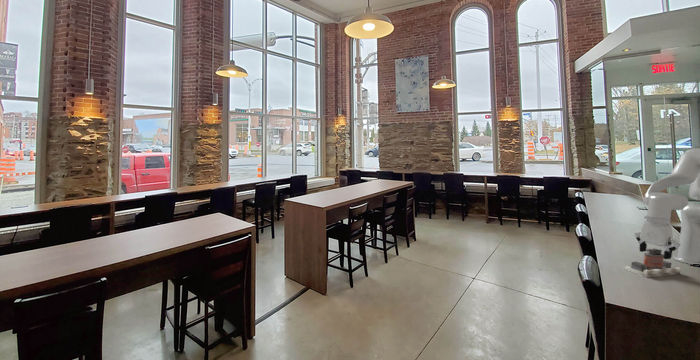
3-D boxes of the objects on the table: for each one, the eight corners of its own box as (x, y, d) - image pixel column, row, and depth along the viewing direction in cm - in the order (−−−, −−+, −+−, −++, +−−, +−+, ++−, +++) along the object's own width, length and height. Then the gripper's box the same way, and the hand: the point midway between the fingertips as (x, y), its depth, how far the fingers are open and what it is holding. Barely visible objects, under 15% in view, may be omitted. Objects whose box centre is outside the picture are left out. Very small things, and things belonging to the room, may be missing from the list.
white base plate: (656, 266, 144) (658, 258, 143) (680, 274, 135) (681, 265, 135) (624, 269, 141) (625, 260, 140) (646, 277, 132) (647, 268, 131)
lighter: (658, 267, 139) (660, 248, 138) (664, 270, 136) (667, 250, 135) (640, 266, 140) (642, 247, 139) (646, 269, 136) (648, 249, 135)
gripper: (631, 216, 143) (628, 249, 145) (675, 226, 126) (671, 262, 128) (643, 215, 144) (640, 248, 146) (688, 225, 127) (684, 261, 129)
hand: (654, 255), depth 137 cm, fingers open, 9 cm apart
